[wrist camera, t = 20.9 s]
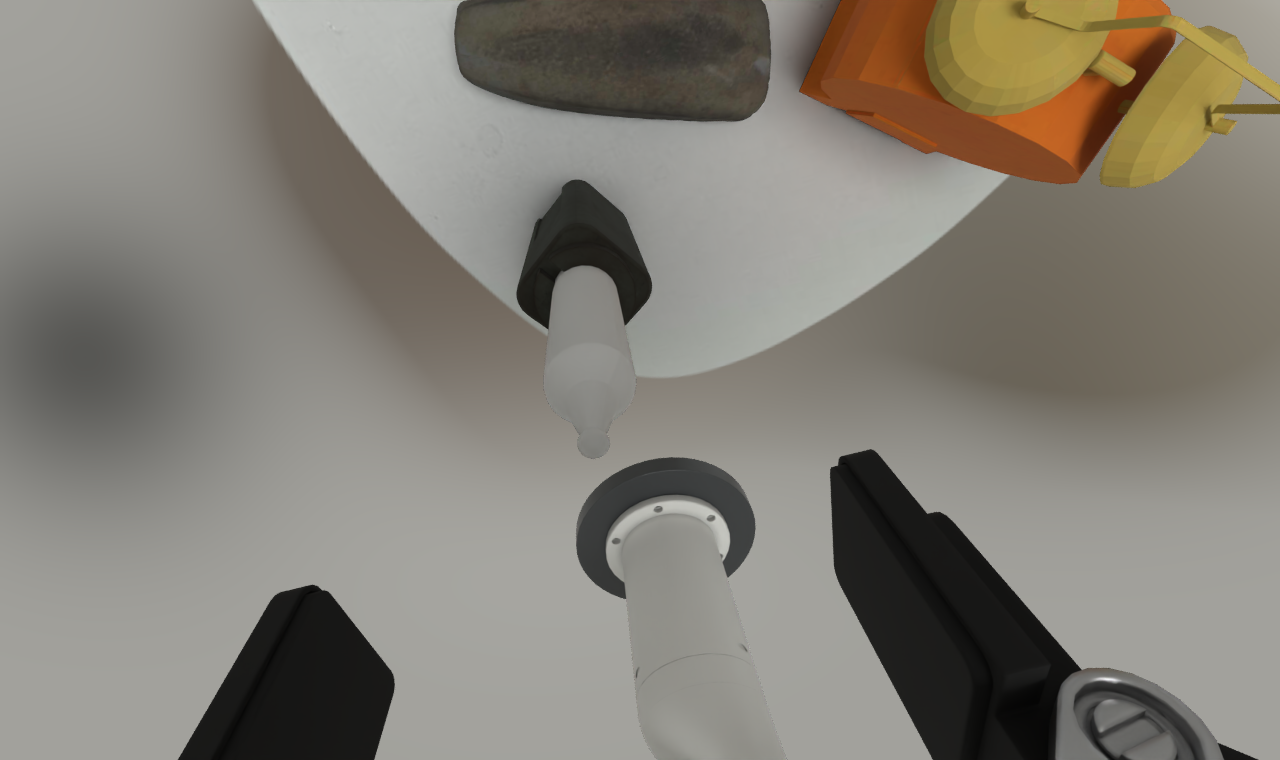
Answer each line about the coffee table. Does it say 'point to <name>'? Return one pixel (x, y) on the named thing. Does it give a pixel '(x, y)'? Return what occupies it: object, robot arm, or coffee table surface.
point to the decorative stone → (620, 55)
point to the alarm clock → (1036, 82)
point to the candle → (585, 309)
